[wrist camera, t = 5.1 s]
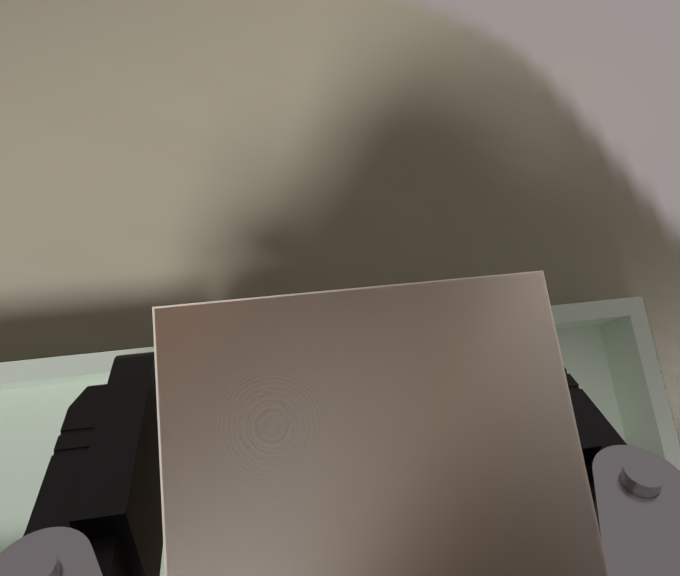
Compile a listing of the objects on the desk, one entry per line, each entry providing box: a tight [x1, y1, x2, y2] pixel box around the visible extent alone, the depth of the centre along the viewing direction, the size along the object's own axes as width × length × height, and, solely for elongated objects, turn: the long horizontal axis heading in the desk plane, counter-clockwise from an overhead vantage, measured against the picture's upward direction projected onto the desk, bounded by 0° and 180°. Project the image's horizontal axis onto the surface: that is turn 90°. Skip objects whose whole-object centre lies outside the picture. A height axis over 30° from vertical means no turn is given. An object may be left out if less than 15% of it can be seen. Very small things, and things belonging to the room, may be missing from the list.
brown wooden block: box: [152, 270, 609, 576], centre depth 10 cm, size 4×4×10 cm
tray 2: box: [551, 296, 680, 471], centre depth 15 cm, size 6×6×2 cm
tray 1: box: [0, 347, 165, 576], centre depth 13 cm, size 6×6×2 cm
